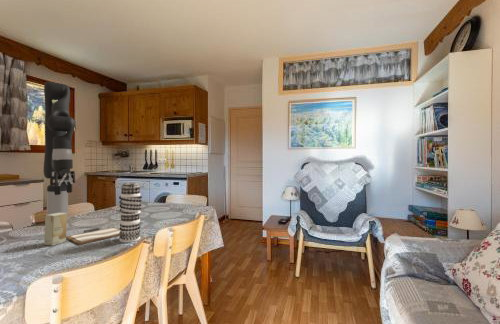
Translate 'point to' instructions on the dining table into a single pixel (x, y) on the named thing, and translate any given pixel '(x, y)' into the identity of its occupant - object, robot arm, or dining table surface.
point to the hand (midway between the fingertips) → (63, 193)
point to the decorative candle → (130, 212)
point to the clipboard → (94, 235)
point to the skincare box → (55, 228)
